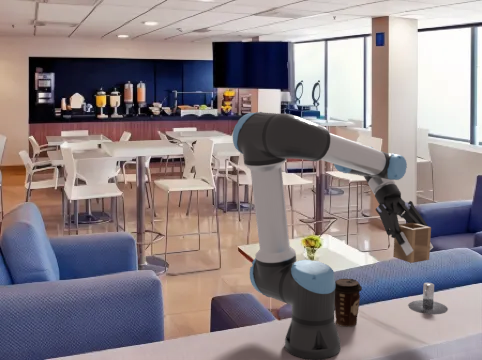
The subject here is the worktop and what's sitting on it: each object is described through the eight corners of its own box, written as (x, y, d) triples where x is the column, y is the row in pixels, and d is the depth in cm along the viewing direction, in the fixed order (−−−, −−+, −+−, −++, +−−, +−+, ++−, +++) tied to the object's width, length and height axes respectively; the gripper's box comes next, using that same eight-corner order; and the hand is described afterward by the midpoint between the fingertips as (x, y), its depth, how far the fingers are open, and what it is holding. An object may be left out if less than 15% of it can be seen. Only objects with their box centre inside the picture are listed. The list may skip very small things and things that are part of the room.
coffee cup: (359, 318, 185) (360, 277, 183) (362, 328, 177) (363, 286, 175) (331, 317, 186) (332, 277, 184) (332, 327, 178) (333, 286, 176)
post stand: (402, 313, 189) (403, 286, 187) (415, 302, 198) (416, 276, 197) (440, 321, 182) (441, 293, 180) (452, 309, 191) (453, 282, 190)
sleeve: (393, 256, 182) (394, 224, 181) (411, 253, 186) (412, 222, 184) (411, 263, 176) (412, 229, 175) (429, 259, 180) (431, 227, 178)
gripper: (402, 194, 197) (437, 253, 185) (354, 199, 187) (387, 262, 175) (415, 180, 191) (451, 240, 180) (365, 184, 182) (401, 248, 170)
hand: (420, 251), depth 177 cm, fingers closed on sleeve, 7 cm apart
